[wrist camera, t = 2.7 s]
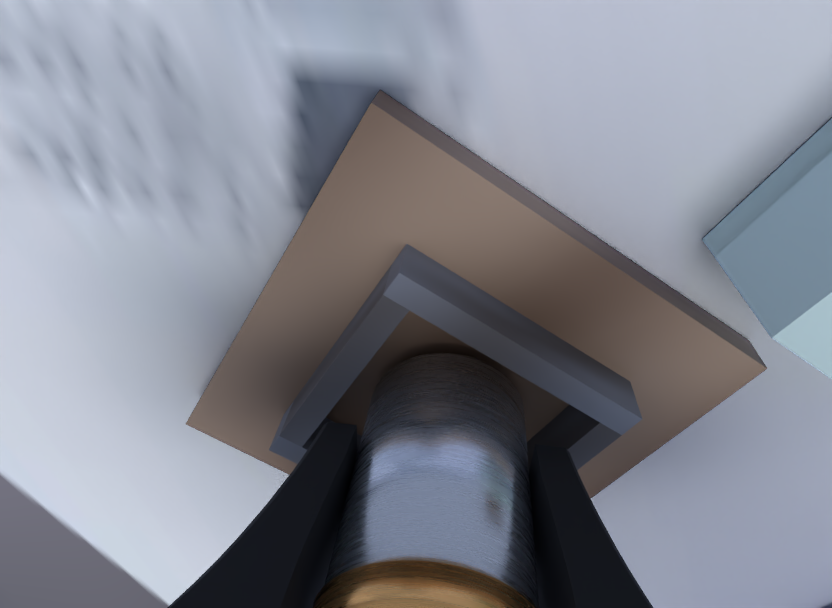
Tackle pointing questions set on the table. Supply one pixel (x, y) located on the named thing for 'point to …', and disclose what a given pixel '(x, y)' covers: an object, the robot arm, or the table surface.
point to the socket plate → (464, 312)
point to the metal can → (438, 494)
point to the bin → (786, 251)
